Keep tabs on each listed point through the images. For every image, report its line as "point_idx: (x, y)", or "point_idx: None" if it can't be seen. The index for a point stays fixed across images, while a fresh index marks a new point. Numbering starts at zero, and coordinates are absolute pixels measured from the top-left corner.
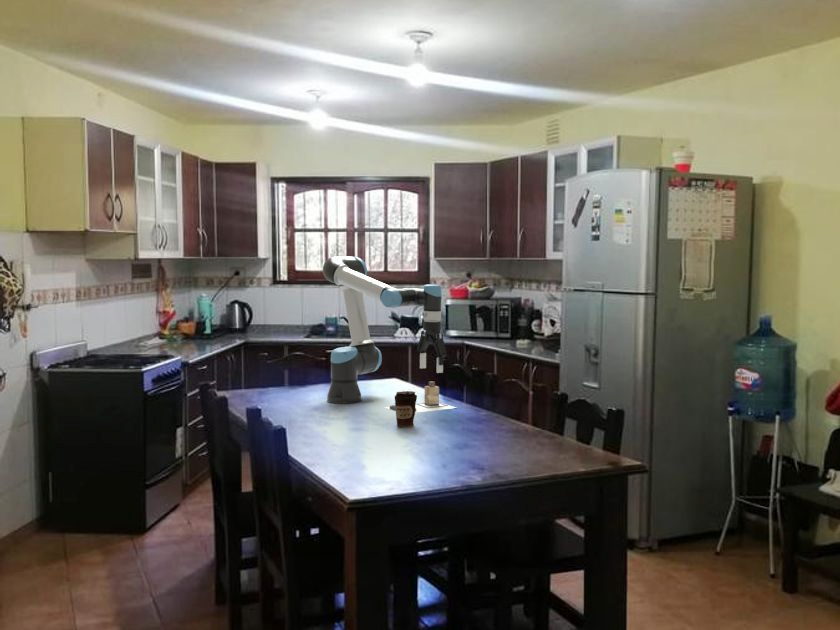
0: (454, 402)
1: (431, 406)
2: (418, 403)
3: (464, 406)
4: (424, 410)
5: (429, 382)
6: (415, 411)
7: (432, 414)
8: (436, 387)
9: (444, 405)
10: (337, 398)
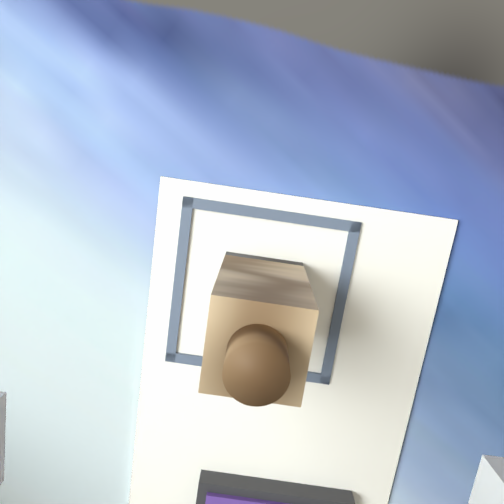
0: (266, 65)
1: None
2: (167, 338)
3: (439, 119)
4: (370, 443)
5: (255, 404)
6: (355, 499)
7: (475, 462)
8: (313, 338)
9: (331, 234)
10: None
